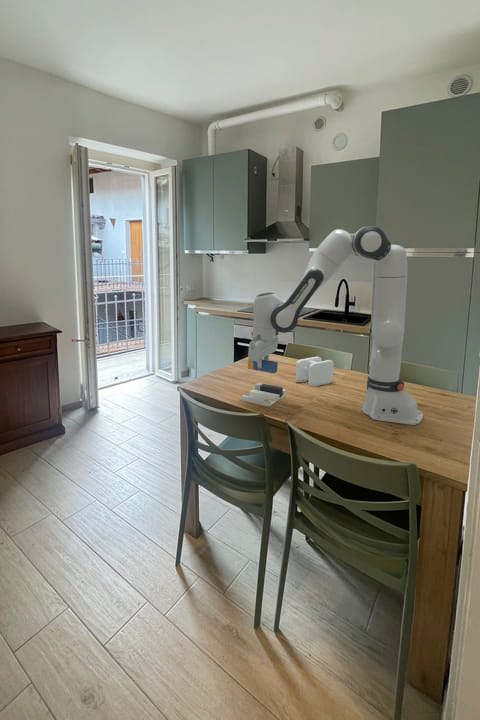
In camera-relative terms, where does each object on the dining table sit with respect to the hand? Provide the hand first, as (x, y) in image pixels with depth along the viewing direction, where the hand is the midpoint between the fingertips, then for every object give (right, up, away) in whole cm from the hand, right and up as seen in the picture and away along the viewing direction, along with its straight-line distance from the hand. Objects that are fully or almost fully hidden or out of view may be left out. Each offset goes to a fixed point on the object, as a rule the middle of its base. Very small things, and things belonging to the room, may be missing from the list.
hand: (262, 366), depth 166 cm
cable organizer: (+26, -9, +29) cm, 40 cm away
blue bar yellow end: (0, -2, 0) cm, 2 cm away
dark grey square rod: (+3, -13, +11) cm, 17 cm away
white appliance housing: (+1, -14, +8) cm, 17 cm away
